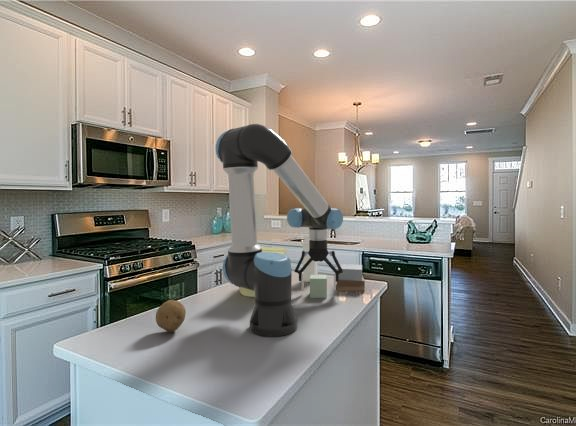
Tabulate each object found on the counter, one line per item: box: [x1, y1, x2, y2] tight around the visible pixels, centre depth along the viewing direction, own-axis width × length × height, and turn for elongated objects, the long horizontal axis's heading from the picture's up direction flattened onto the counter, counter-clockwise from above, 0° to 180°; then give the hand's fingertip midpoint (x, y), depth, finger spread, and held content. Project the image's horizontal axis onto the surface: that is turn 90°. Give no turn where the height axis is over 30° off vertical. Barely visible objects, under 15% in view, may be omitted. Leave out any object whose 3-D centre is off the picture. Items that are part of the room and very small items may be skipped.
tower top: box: [336, 263, 363, 281], centre depth 157 cm, size 11×11×5 cm
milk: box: [302, 236, 319, 283], centre depth 171 cm, size 6×6×22 cm
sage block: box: [309, 274, 328, 299], centre depth 145 cm, size 7×7×8 cm
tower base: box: [336, 275, 366, 292], centre depth 157 cm, size 12×12×5 cm
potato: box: [155, 299, 186, 333], centre depth 106 cm, size 9×9×10 cm
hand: (318, 289), depth 145 cm, fingers open, 13 cm apart
